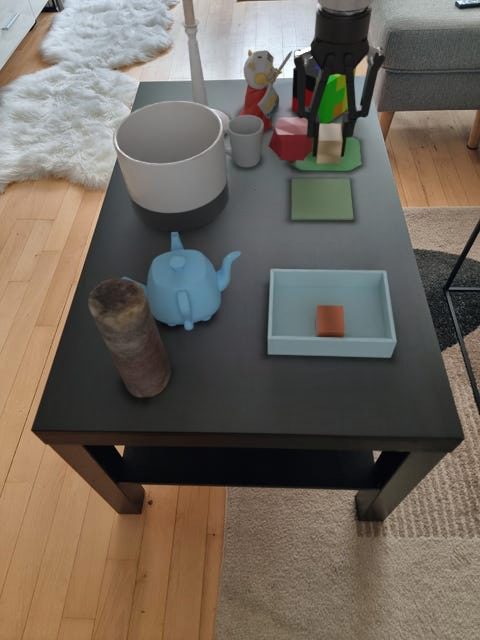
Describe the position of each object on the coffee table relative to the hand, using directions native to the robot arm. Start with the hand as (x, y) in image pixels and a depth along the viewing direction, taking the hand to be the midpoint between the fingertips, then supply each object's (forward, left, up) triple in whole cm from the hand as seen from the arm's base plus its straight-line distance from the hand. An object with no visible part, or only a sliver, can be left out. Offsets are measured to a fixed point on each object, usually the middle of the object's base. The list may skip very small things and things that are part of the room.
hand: (327, 151), depth 84 cm
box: (0, +27, -14) cm, 30 cm away
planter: (+28, 0, -14) cm, 31 cm away
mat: (0, -3, -14) cm, 14 cm away
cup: (+17, -16, -14) cm, 27 cm away
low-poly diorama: (+1, -18, -14) cm, 22 cm away
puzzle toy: (-1, -36, -14) cm, 39 cm away
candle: (+28, +39, -14) cm, 50 cm away
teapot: (+24, +24, -14) cm, 36 cm away
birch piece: (0, 0, -1) cm, 1 cm away
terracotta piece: (0, +30, -13) cm, 33 cm away
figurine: (+13, -33, -14) cm, 38 cm away
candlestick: (+27, -29, -14) cm, 42 cm away
